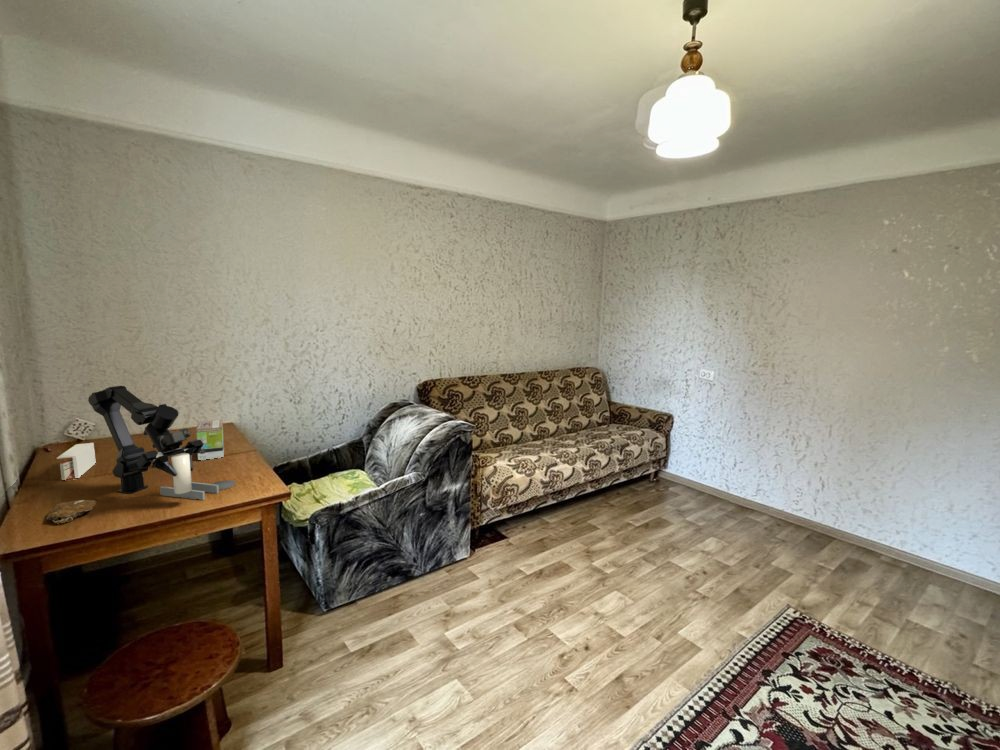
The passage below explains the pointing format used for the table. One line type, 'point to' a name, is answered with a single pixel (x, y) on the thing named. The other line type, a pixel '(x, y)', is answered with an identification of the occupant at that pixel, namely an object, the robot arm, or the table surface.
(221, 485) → the coaster
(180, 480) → the white rounded block
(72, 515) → the decorative rock
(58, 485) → the table surface
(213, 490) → the grey parallel rails
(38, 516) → the table surface
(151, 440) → the robot arm
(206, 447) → the tea box
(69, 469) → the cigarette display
